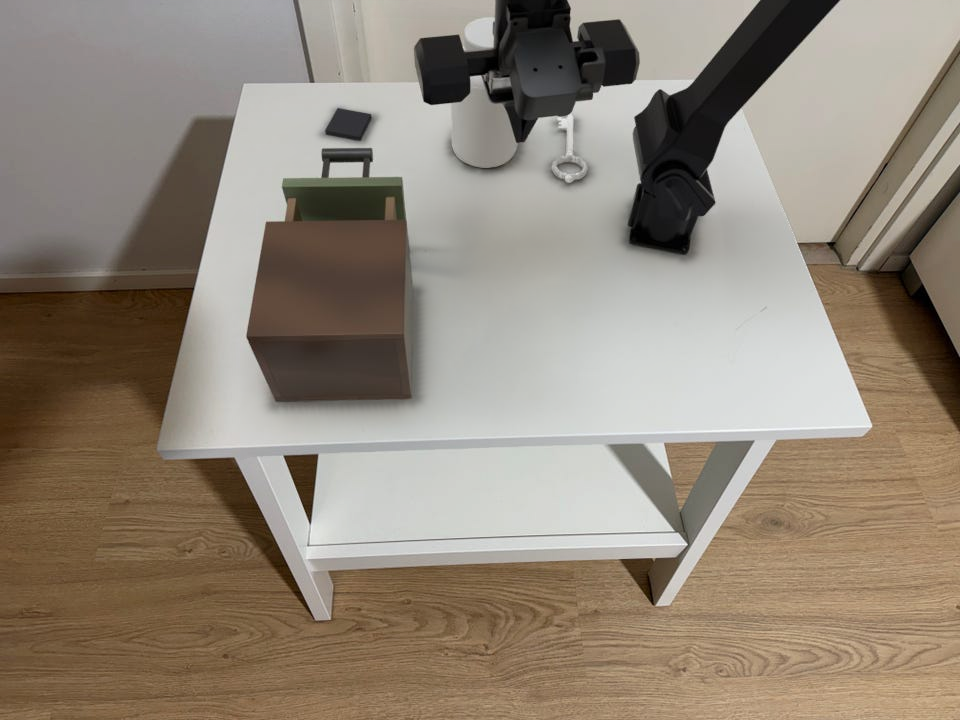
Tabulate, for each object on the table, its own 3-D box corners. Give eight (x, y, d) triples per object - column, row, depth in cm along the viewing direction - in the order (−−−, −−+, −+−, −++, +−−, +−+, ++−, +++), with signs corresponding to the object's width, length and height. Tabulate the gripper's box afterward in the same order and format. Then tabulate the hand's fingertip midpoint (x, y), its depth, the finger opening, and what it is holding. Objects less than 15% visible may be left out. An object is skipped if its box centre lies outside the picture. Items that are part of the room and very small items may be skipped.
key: (550, 183, 81) (587, 185, 81) (551, 177, 80) (588, 179, 80) (553, 116, 88) (587, 118, 88) (554, 110, 87) (588, 112, 87)
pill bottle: (512, 174, 82) (521, 59, 70) (445, 164, 83) (441, 48, 70) (523, 130, 86) (533, 14, 74) (459, 121, 87) (458, 4, 74)
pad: (371, 117, 87) (371, 113, 87) (360, 140, 85) (359, 136, 84) (338, 111, 88) (337, 107, 87) (325, 134, 85) (324, 130, 85)
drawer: (305, 205, 78) (288, 141, 70) (409, 204, 78) (403, 140, 71) (288, 329, 68) (267, 270, 61) (406, 326, 69) (399, 268, 62)
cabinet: (290, 294, 72) (265, 221, 63) (413, 292, 72) (406, 219, 63) (275, 401, 65) (245, 336, 56) (411, 398, 66) (403, 333, 57)
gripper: (429, 51, 49) (436, 212, 62) (683, 26, 51) (638, 186, 64) (407, -34, 55) (418, 129, 68) (635, -53, 57) (603, 109, 70)
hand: (519, 140), depth 68 cm, fingers closed
